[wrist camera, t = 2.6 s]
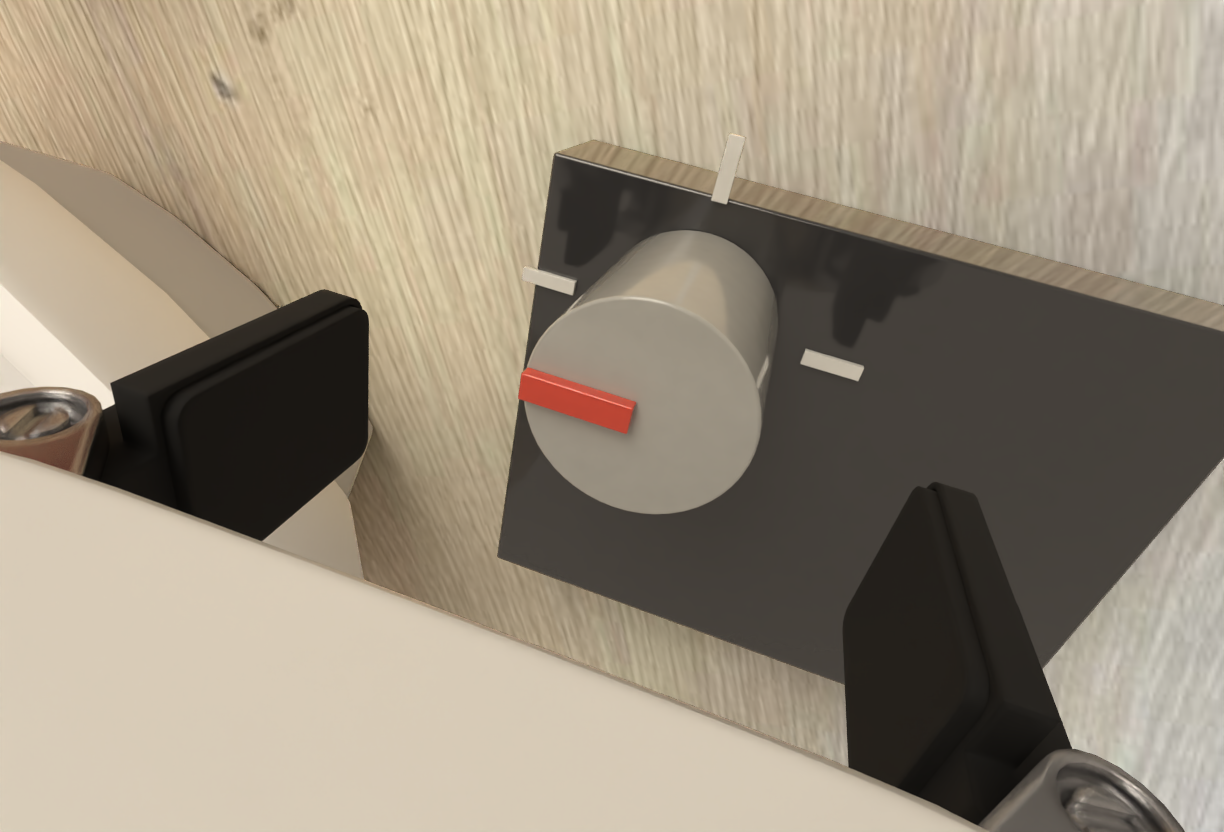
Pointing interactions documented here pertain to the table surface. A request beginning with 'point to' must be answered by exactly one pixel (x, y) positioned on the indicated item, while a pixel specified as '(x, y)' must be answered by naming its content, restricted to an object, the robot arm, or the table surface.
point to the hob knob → (657, 375)
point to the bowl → (126, 306)
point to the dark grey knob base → (879, 412)
